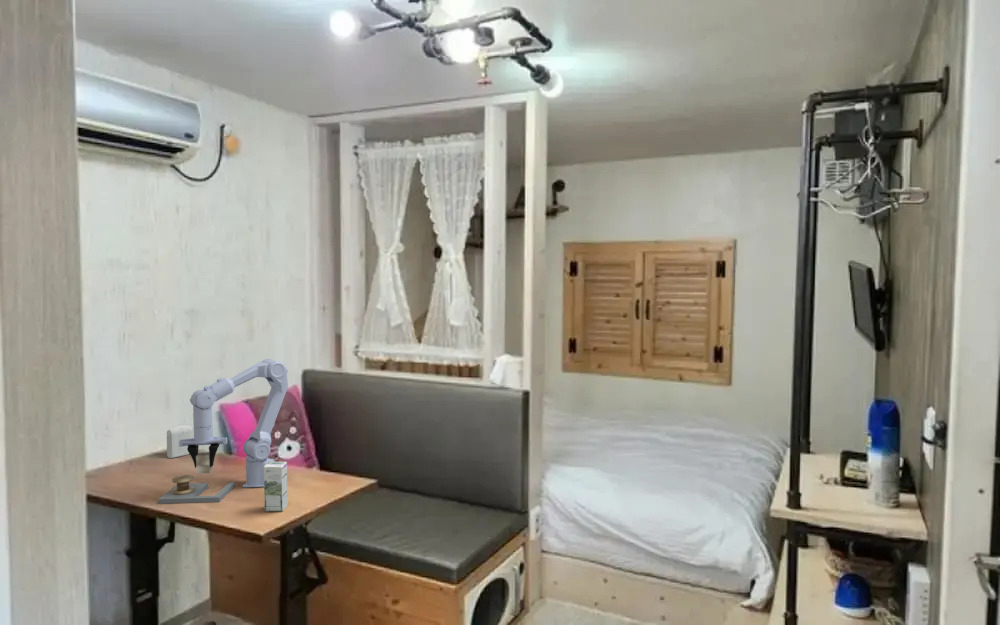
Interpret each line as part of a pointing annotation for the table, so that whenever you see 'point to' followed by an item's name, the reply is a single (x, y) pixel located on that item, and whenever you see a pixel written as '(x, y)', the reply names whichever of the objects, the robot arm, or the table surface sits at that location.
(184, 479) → the spool
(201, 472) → the block
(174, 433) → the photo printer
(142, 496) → the table surface
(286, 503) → the syrup box
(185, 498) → the notched board
